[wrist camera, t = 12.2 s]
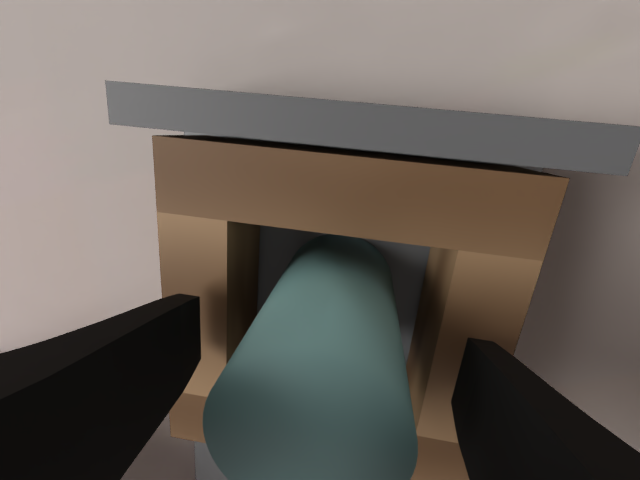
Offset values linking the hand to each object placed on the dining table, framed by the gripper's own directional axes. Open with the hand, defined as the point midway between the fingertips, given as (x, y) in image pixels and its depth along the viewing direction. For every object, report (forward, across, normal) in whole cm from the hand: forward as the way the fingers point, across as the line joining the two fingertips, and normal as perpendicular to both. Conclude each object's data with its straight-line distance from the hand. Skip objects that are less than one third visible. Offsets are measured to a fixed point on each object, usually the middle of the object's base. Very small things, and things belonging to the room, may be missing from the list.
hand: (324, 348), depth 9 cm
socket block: (+4, 0, 0) cm, 4 cm away
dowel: (+4, 0, 0) cm, 4 cm away
